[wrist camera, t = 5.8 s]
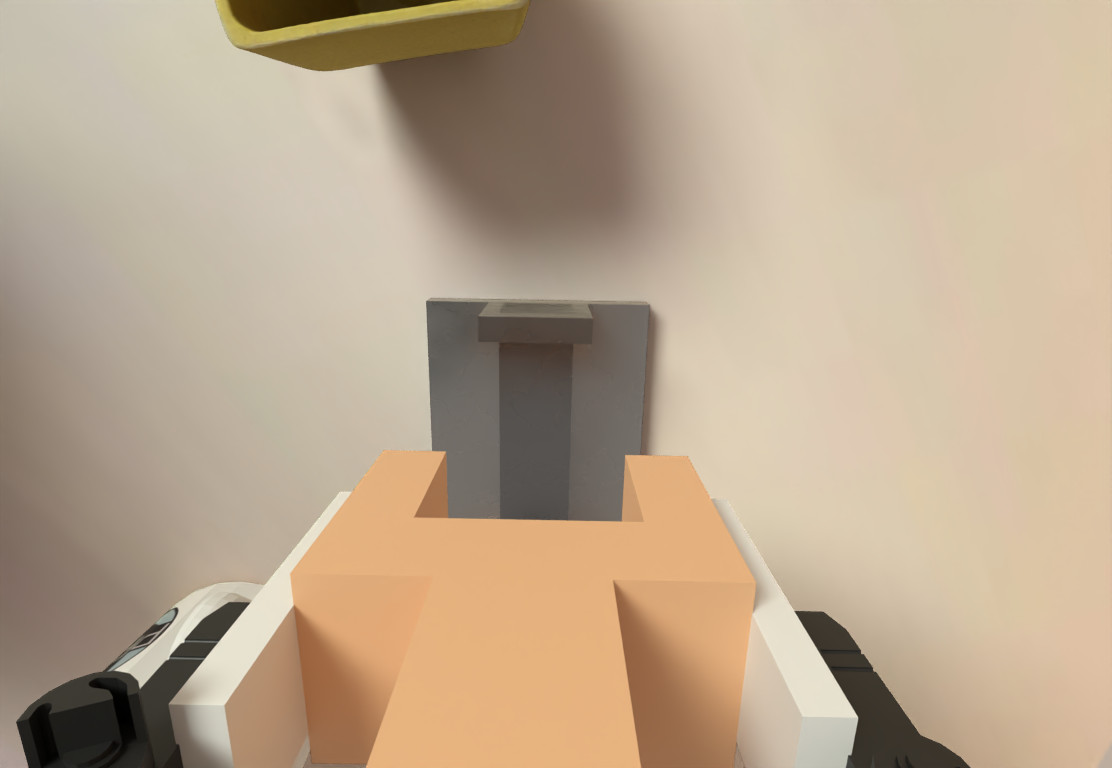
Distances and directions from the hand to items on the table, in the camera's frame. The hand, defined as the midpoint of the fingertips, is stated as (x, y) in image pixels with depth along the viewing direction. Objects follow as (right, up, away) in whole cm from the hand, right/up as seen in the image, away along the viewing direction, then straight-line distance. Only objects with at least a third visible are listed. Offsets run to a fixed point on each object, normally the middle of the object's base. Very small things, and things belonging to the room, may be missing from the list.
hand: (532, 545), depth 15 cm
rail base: (0, -2, +16) cm, 16 cm away
